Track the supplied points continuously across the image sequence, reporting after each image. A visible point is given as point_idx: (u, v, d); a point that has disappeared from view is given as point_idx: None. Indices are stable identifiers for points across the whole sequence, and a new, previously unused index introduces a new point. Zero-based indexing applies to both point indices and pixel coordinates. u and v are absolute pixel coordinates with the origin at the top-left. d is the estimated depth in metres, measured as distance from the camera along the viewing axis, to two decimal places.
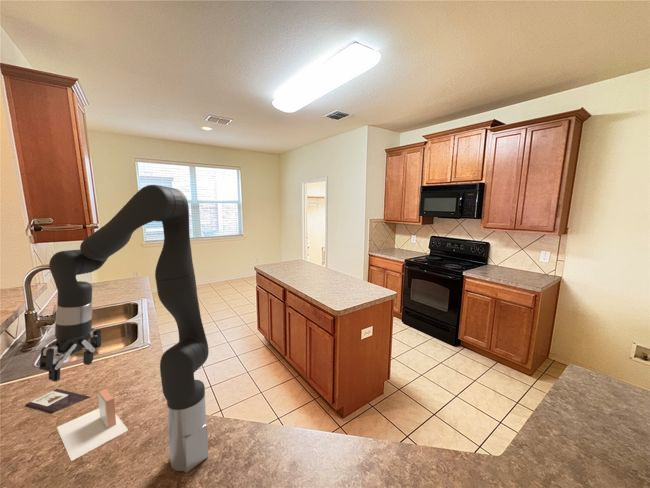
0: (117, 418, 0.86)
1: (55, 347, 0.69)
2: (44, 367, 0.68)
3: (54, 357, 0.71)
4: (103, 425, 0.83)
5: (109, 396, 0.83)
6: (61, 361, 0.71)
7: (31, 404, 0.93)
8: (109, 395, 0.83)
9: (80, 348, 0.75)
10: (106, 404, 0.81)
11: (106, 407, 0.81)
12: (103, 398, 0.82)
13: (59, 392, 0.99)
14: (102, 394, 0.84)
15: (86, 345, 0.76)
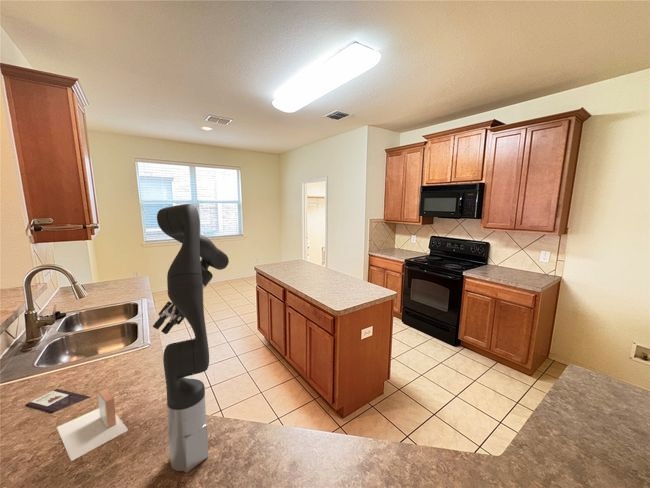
0: (117, 418, 0.86)
1: (171, 303, 1.02)
2: None
3: None
4: (103, 425, 0.83)
5: (109, 396, 0.83)
6: (163, 313, 0.98)
7: (31, 404, 0.93)
8: (109, 395, 0.83)
9: None
10: (106, 404, 0.81)
11: (106, 407, 0.81)
12: (103, 398, 0.82)
13: (59, 392, 0.99)
14: (102, 394, 0.84)
15: (173, 310, 0.96)
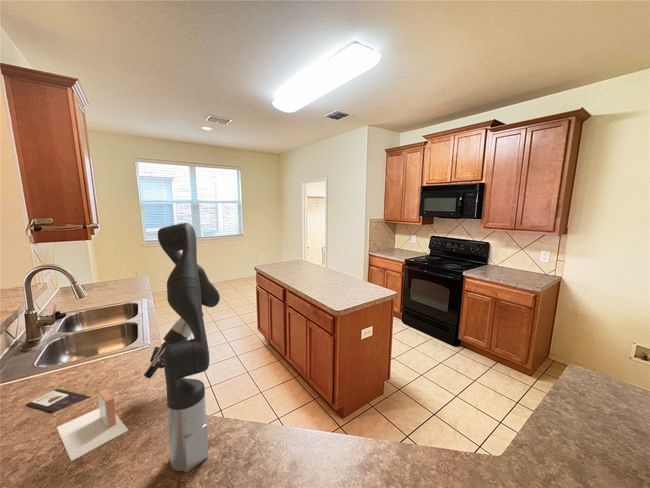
0: (117, 418, 0.86)
1: (160, 347, 1.01)
2: None
3: None
4: (103, 425, 0.83)
5: (109, 396, 0.83)
6: (154, 359, 0.96)
7: (31, 404, 0.93)
8: (109, 395, 0.83)
9: None
10: (106, 404, 0.81)
11: (106, 407, 0.81)
12: (103, 398, 0.82)
13: (59, 392, 0.99)
14: (102, 394, 0.84)
15: (160, 354, 0.96)
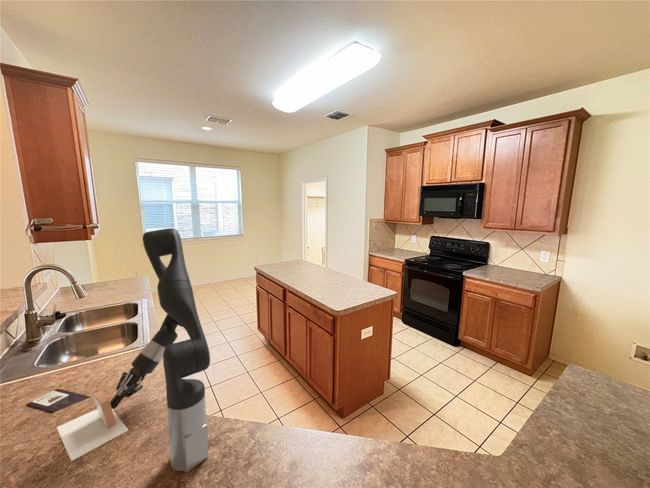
0: (117, 418, 0.86)
1: (128, 372, 0.92)
2: None
3: None
4: (103, 425, 0.83)
5: (104, 398, 0.82)
6: (121, 386, 0.88)
7: (32, 404, 0.93)
8: (104, 397, 0.82)
9: None
10: (102, 406, 0.80)
11: (102, 409, 0.80)
12: (98, 400, 0.81)
13: (60, 392, 0.99)
14: (97, 396, 0.83)
15: (127, 381, 0.88)
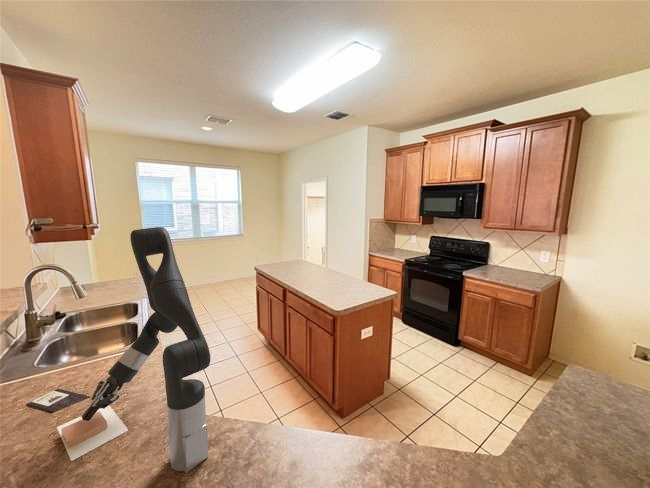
0: (117, 418, 0.86)
1: (105, 381, 0.87)
2: None
3: None
4: None
5: (65, 440, 0.75)
6: (96, 397, 0.83)
7: (32, 404, 0.93)
8: (65, 438, 0.75)
9: None
10: (72, 445, 0.75)
11: (77, 442, 0.76)
12: None
13: (60, 392, 0.99)
14: (63, 438, 0.77)
15: (103, 391, 0.82)
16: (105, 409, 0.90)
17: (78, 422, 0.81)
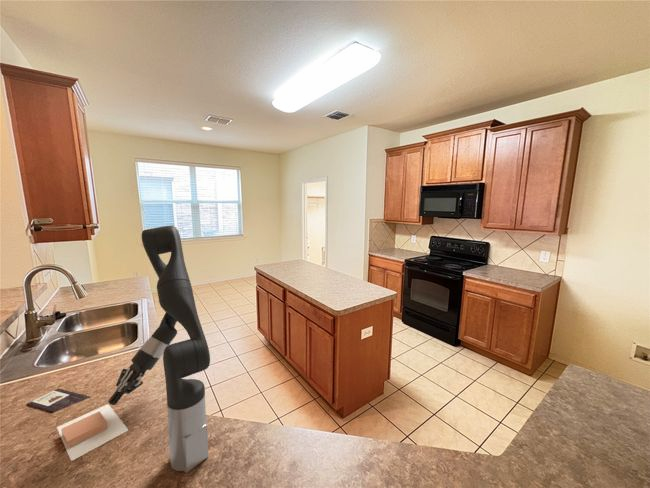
0: (117, 418, 0.86)
1: (128, 368, 0.92)
2: None
3: None
4: None
5: (65, 440, 0.75)
6: (121, 383, 0.88)
7: (32, 404, 0.93)
8: (65, 438, 0.75)
9: None
10: (72, 445, 0.75)
11: (77, 442, 0.76)
12: None
13: (60, 392, 1.00)
14: (63, 438, 0.77)
15: (127, 377, 0.88)
16: (105, 409, 0.90)
17: (78, 422, 0.81)
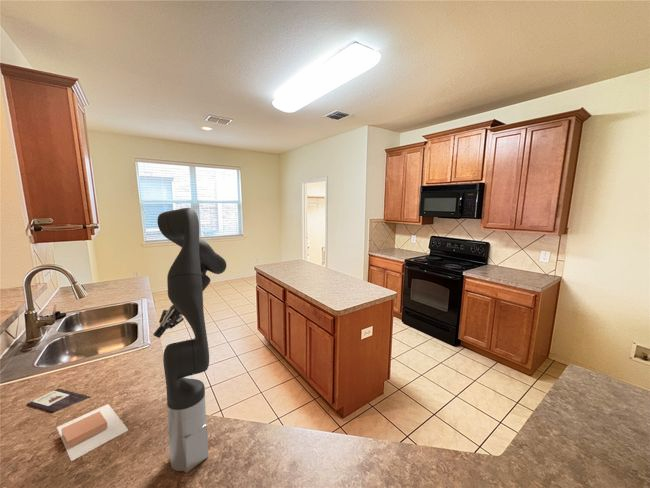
0: (117, 418, 0.86)
1: (168, 310, 1.02)
2: None
3: None
4: None
5: (65, 440, 0.75)
6: (163, 320, 0.98)
7: (32, 404, 0.93)
8: (65, 438, 0.75)
9: None
10: (72, 445, 0.75)
11: (77, 442, 0.76)
12: None
13: (60, 392, 1.00)
14: (63, 438, 0.77)
15: (169, 314, 0.98)
16: (105, 409, 0.90)
17: (78, 422, 0.81)
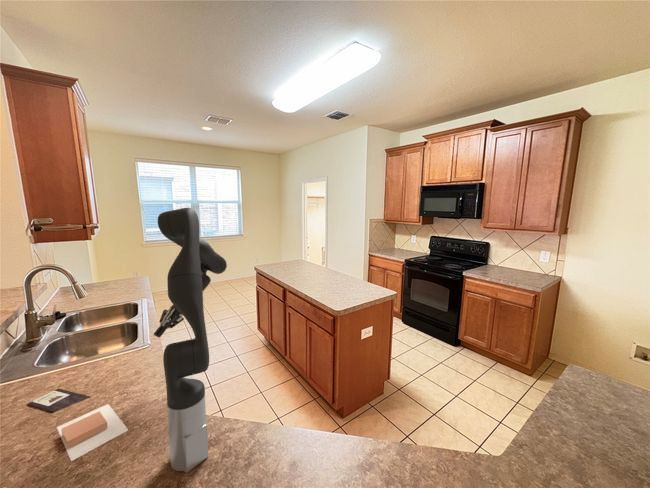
0: (117, 418, 0.86)
1: (169, 309, 1.03)
2: None
3: None
4: None
5: (65, 440, 0.75)
6: (164, 319, 0.98)
7: (32, 404, 0.93)
8: (65, 438, 0.75)
9: None
10: (72, 445, 0.75)
11: (77, 442, 0.76)
12: None
13: (60, 392, 1.00)
14: (63, 438, 0.77)
15: (169, 314, 0.98)
16: (105, 409, 0.90)
17: (78, 422, 0.81)
